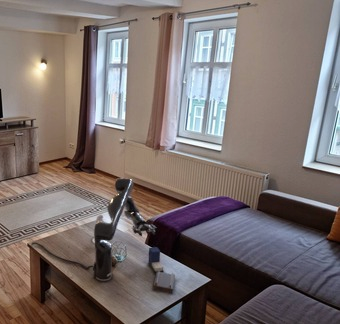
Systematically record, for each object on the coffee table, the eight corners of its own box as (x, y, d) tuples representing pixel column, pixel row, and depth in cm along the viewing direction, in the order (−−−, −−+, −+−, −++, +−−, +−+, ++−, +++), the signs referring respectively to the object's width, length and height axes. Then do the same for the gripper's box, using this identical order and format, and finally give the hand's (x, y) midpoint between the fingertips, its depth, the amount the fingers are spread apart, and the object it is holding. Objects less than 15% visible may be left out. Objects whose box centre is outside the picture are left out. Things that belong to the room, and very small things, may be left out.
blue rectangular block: (148, 264, 200) (149, 247, 197) (156, 263, 201) (156, 246, 198) (155, 274, 190) (156, 257, 187) (163, 273, 191) (164, 256, 188)
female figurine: (103, 250, 216) (103, 222, 210) (88, 240, 228) (87, 214, 222) (115, 244, 222) (116, 217, 217) (100, 235, 234) (100, 209, 229)
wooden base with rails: (153, 290, 177) (153, 283, 176) (156, 276, 189) (156, 269, 188) (172, 293, 174) (172, 286, 173) (174, 279, 186) (175, 272, 185)
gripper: (129, 218, 218) (137, 229, 203) (149, 216, 221) (159, 227, 205) (128, 228, 220) (136, 240, 205) (149, 226, 223) (158, 238, 207)
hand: (148, 234), depth 205 cm, fingers open, 8 cm apart
